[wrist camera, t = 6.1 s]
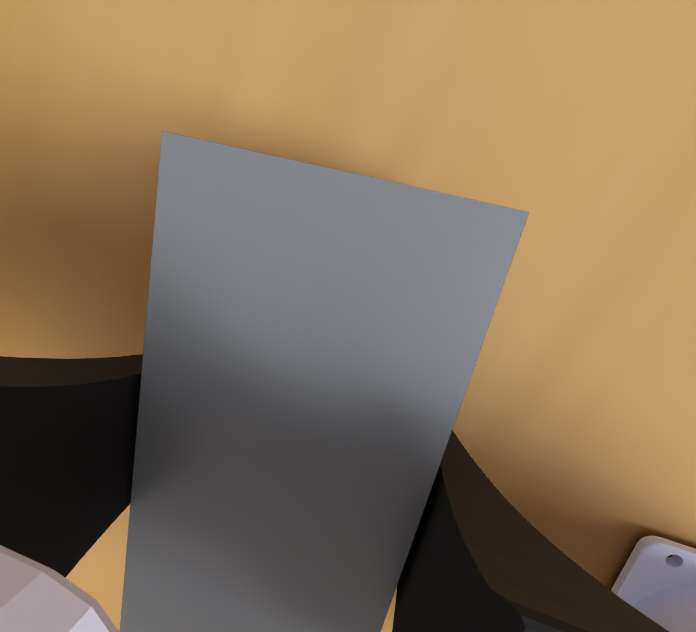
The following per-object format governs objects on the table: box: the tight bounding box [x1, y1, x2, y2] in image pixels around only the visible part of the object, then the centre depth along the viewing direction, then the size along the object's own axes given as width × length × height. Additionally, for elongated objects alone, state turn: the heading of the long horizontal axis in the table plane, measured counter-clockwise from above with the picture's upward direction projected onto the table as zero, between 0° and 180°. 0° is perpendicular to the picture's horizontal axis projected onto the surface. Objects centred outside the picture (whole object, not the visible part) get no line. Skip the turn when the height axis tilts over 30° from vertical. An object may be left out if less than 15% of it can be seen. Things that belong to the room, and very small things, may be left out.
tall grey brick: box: [120, 131, 529, 632], centre depth 10 cm, size 6×13×6 cm, turn 166°
